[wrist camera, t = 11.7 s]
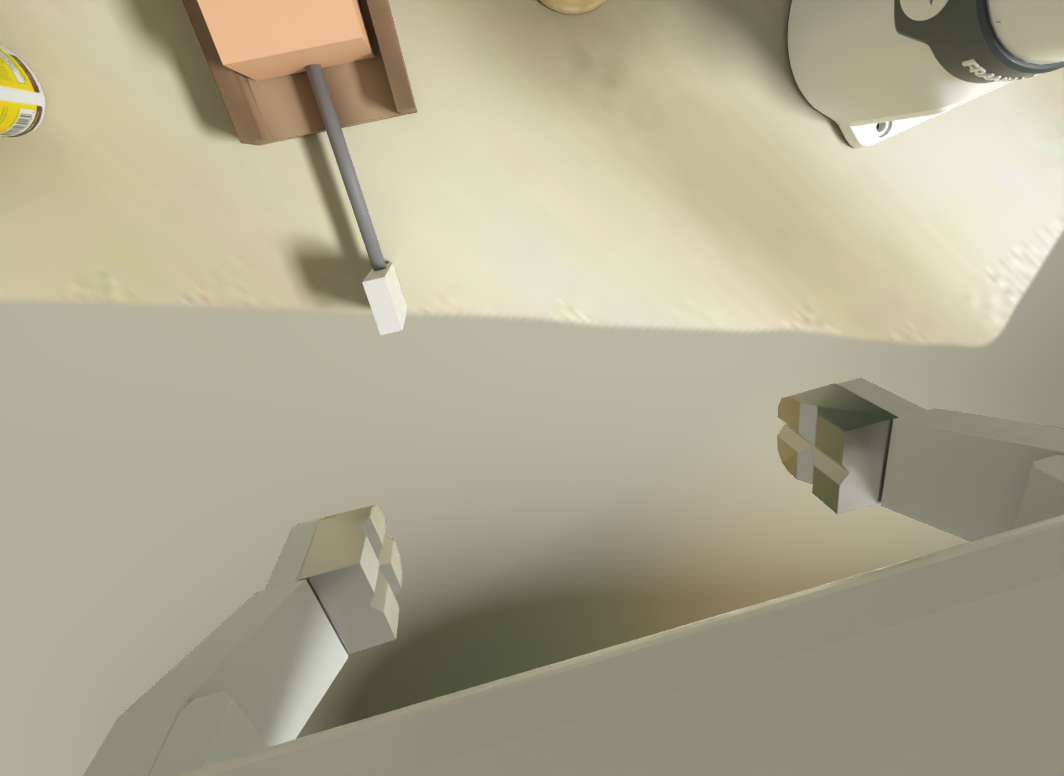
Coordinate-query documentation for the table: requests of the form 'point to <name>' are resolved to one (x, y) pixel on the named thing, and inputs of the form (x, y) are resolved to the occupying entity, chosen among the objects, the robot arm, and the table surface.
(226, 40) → the pull block
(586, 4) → the hand bell
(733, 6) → the table surface
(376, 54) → the shelf lane
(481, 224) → the table surface
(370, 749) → the robot arm
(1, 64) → the supplement bottle
